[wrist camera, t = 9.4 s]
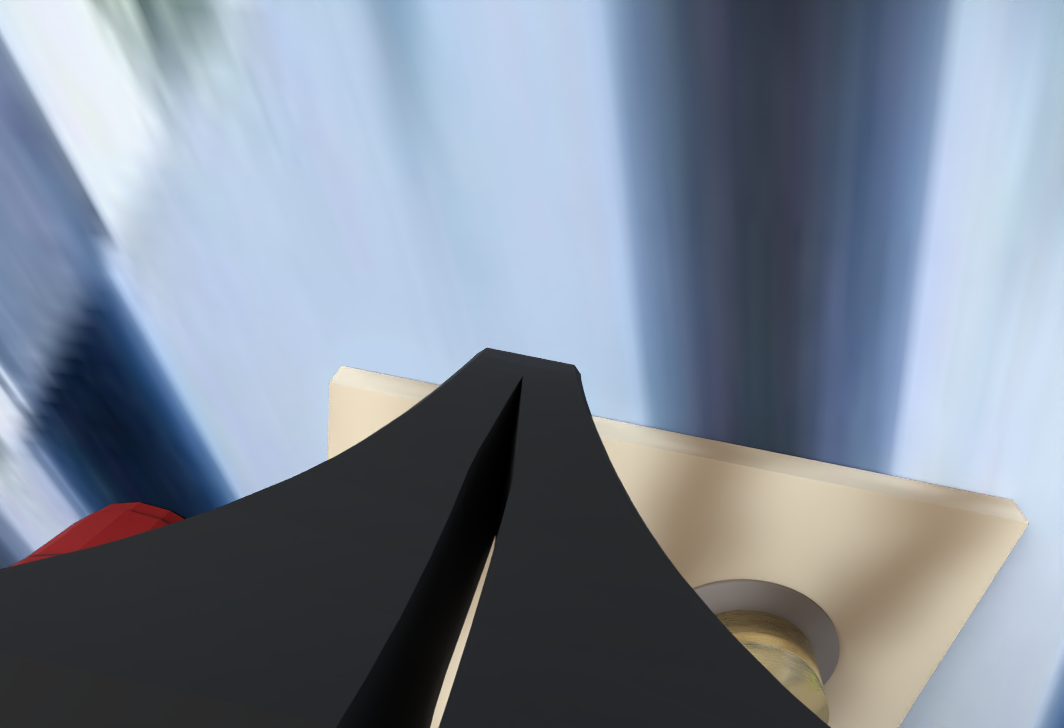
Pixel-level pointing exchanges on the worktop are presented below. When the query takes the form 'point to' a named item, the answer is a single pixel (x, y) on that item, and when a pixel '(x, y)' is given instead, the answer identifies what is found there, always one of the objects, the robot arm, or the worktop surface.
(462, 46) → the worktop surface
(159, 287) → the worktop surface
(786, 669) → the lever
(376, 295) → the worktop surface
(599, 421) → the dial board
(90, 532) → the plastic cup
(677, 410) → the worktop surface
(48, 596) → the robot arm
